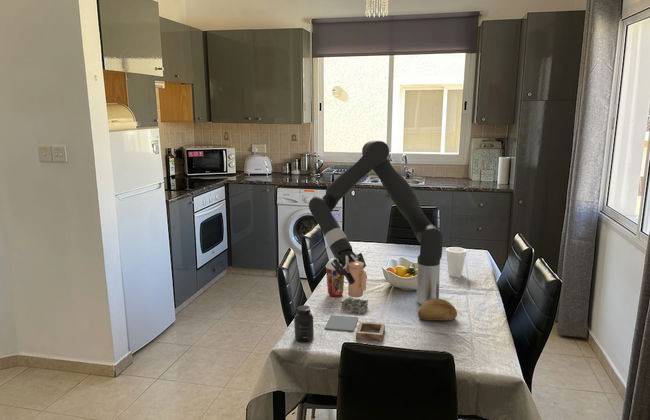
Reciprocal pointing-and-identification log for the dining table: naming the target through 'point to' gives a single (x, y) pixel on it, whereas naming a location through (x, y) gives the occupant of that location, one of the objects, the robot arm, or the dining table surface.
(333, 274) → the smoothie
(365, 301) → the egg carton
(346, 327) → the slate mat
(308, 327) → the supplement bottle
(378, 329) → the walnut collar
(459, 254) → the foam cup
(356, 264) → the peach column
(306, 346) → the dining table surface
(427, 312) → the bread roll
